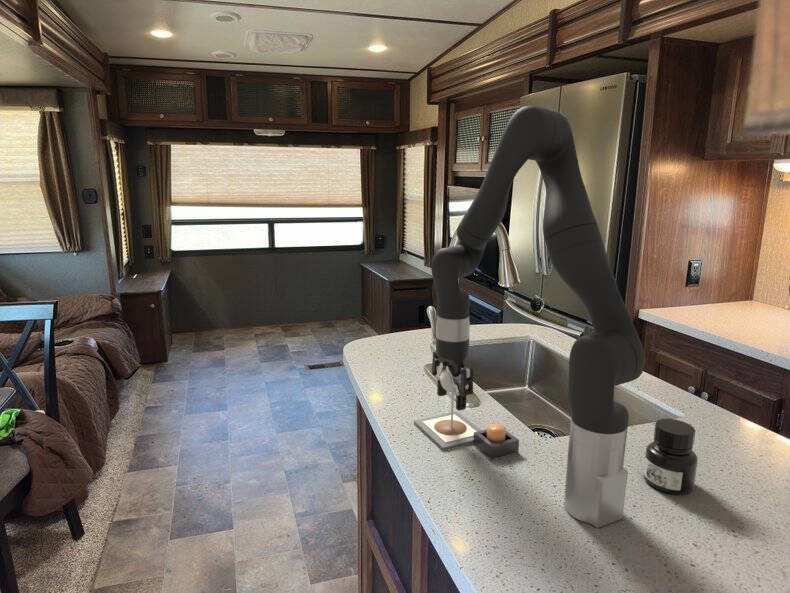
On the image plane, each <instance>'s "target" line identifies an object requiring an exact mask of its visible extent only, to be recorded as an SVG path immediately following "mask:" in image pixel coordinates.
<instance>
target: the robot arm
mask: <svg viewBox="0 0 790 593" xmlns="http://www.w3.org/2000/svg"><path fill="white" fill-rule="evenodd" d="M508 120H509V121H508V122H507V124H506V126H505V128H504V130H503V132H502V134H501V137H500V140H499V142H498V144H497V146H496V149H495V152H494V154H493V157H492V159H491V161H490V163H489V166H488V169H487V171H486V173H485V176H484V178H483V181H482V183H481V185H480V188H479V190H477V193H476V196H475V198H474V199H473V201H472V203H470V206H469V208H468V209H467V210H466V212H465V214H464V216H463V217H462V219H461V220H460V222H459V224H458V226H457V229H456V236H457V239H458V240H459V241H458V242H457V244H456V245H455V246H448V247H443V248H439V249H438V250H437V251H436V252H434V255H433V256H432V259H431V266H430V267H431V269H430V270H431V277H432V280H433V285H434V287H435V292H436V296H437V314H436V315H437V316H436V324H435V351H433V352H432V362H431V364H432V366H431V374H432V376H435V380H436V381H437V382H436V384H437V386H436V389H437V390H436V391H437V392H436V395H437V396H439V397H443V396H446V395H447V392H448V391H446V390H445V389H444V388H443V387H442V385H441V382H440V375H441V373H442V372H443V371H444V370H445V369H446V371H447V373H448V374H449V375H450V377H451V382H452V386H454V387H455V390H456V392H455V393H456V395H455V409H456V410H457V412H459V411H464V410H466V408H467V396H469V395H472V394H474V369H473V367H466V365H465V360H466V359H467V357H469V355H470V332H471V330H470V329H471V323H470V322H471V321H470V294H469V292H468V291H467V290H466V289H464V288H461V287H460V282H459V280H460V278H465V277H468V276H470V275H471V274H472V273H474V272H475V270H477V268H478V267H479V264H480V262H481V261H482V258H483V255H484V252H485V249H486V247H487V243H488V242H489V241H490V239H491V238H492V237H493V234H495V232H496V230H497V229H498V228H499V226H500V225H501V223H502V221H503V219H504V216H505V213H506V211H507V208H508V200H509V194H510V189H511V187H512V183H513V181H514V179H515V177H516V176H517V174H518V173H519V171H520V170H521V168H522V167H523V166H524V165H525V163H526V162H528V161H529V160H531V161H535V163H536V164H537V167H538V168H539V171H540V174H541V177H542V180H543V183H544V187H545V193H546V197H545V207H544V212H543V219H542V233H543V234H542V235H543V239H544V243H545V245H546V248H547V252H548V255H549V258H550V262H551V264H552V266H553V268H554V270H555V272H556V273H557V274H558V276H559V277H560V279H561V280H562V281H563V282H564V283H565V285H567V286H568V287H569V288H570V290H571V291H572V292H573V293H574V294H575V295H576V297H578V299H579V300H580V301H581V302H582V304H583V306H584V307H585V309H586V312H587V314H588V316H589V318H590V321H591V324H592V327H593V330H594V333H589V334H585V335H582V336H580V337H578V338H577V339H576V340H575V341H574V343H573V344H572V347H570V348H571V350H570V352H569V359H568V383H567V384H568V385H567V386H568V387H567V388H568V389H567V396H568V397H567V399H568V404H569V407H570V412H571V413H570V414H571V415H570V424H569V425H570V426H569V437H568V438H569V439H568V440H569V441H568V448H567V449H568V450H567V451H568V452H567V458H566V459H567V461H566V462H567V463H566V473H565V485H564V486H565V487H564V497H563V505H564V506H563V507H564V508H565V511H567V513H568V514H569V515H570V516H572V517H573V518H574V519H576V520H579V521H581V522H582V523H583V522H584V523H586V524H590V525H592V526H593V527H595V528H597V529H598V528H601V527H603V526H606V525H609V524H612V523H615V522H618V521H620V520H622V519H623V518H624V511H625V499H626V491H627V483H628V482H627V481H628V472H629V471H628V470H627V469H626V468H625V467H624V465H625V453H626V443H627V436H628V426H629V421H630V420H629V417H630V415H629V410H628V409H627V407H626V406H624V404H622V403H620V402H618V401H616V400H615V386H616V387H617V386H621V385H622V384H623V385H624V384H626V383H630V382H632V381H635V380H637V379H638V378H639V377H641V376H642V374H643V372H644V371H645V370H644V369H645V365H646V357H645V356H646V355H645V351H644V347H643V344H642V342H641V338H640V336H639V334H638V332H637V330H636V327H635V326H634V323H633V321H632V318H631V316H630V314H629V312H628V309H627V307H626V305H625V302H624V300H623V297H622V295H621V292H620V290H619V287H618V284H617V280H616V278H615V276H614V272H613V269H612V267H611V264H610V261H609V258H608V254H607V252H606V248H605V245H604V241H603V238H602V234H601V231H600V227H599V226H598V222H597V219H596V217H595V214H594V211H593V209H592V205H591V201H590V198H589V196H588V192H587V188H586V186H585V183H584V181H583V177H582V173H581V169H580V165H579V160H578V159H579V158H578V155H577V149H576V145H575V139H574V135H573V131H572V128H571V124H570V123H569V121H568V120H567V118H566V117H565V116H564V115H563V114H562V113H560V112H559V111H557V110H556V111H555V110H552V109H548V108H545V107H540V106H537V105H524V106H522V107H520V108H519V109H517V110H515V112H514V113H513V114H512V116H511V117H510V119H508ZM457 376H460V377H461V380H459V381H456V380H455V378H454V377H457ZM459 384H461V389H460V388H459Z"/></svg>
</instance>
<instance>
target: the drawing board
mask: <svg viewBox="0 0 790 593" xmlns="http://www.w3.org/2000/svg"><path fill="white" fill-rule="evenodd" d="M413 424H414V426H416V427H417V428H418V429H419V430H420V431H421V432H422V433H423V434H424V435H425V436H426V437H427V438H429V439H430V440H431V442H433V443H434V444H435V446H437V447H438V449H440V450H441V451H442V452H444V451H445V452H446V451H447V450H448V451H449V450H452V449H456V448H460V447H464V446H469V445H473V439H474V432H478V431H482V429H481V428H479V427H478V426H476V425H475V423H472V421H470V420H468V418H466V417H465V416H464V415H462V414H461V413H460V412H459V411H458V410H457V411H453V428H451V412H448V413H444V414H443V413H442V414H439V415H434V416H430V417H424V418H420V419H417V420H413Z"/></svg>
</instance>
